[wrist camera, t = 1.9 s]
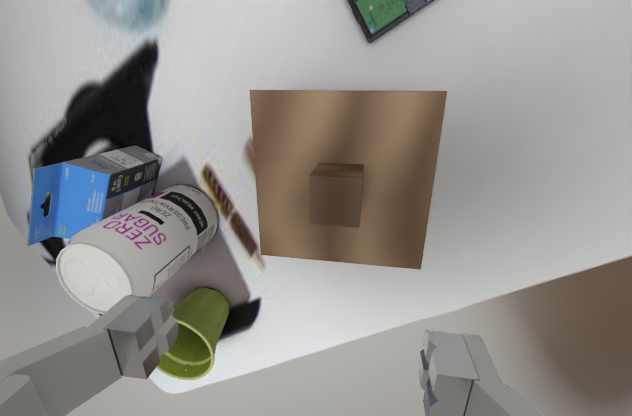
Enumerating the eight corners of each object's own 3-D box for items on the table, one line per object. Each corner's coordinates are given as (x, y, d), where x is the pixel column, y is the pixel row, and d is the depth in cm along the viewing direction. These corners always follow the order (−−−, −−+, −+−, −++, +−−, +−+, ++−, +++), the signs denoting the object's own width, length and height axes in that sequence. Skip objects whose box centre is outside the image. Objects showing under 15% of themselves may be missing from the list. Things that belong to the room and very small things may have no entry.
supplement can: (166, 240, 42) (66, 315, 28) (155, 181, 39) (36, 233, 25) (223, 245, 41) (146, 325, 27) (216, 184, 38) (125, 240, 24)
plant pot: (210, 265, 42) (173, 306, 34) (254, 314, 44) (228, 364, 36) (167, 293, 45) (124, 337, 37) (210, 338, 47) (177, 389, 39)
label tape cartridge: (148, 216, 41) (63, 266, 30) (122, 203, 41) (26, 247, 30) (163, 157, 38) (73, 187, 26) (134, 142, 37) (32, 167, 26)
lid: (443, 91, 22) (462, 92, 17) (419, 263, 27) (428, 299, 22) (254, 90, 24) (226, 90, 19) (264, 249, 29) (244, 279, 25)
